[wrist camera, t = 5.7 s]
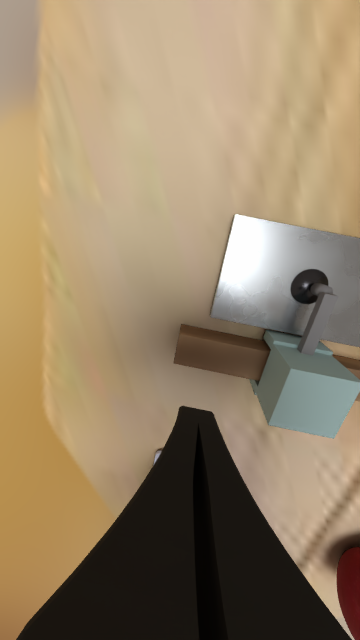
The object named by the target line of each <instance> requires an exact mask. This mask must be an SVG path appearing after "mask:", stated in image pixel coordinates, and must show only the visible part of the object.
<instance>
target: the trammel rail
mask: <svg viewBox="0 0 360 640" xmlns="http://www.w3.org/2000/svg"><path fill="white" fill-rule="evenodd" d="M270 351H271V349H270V347H269V346H268V344H267V343H266V341H262V340H257V339H252V338H247V337H242V336H237V335H232V334H227V333H222V332H217V331H212V330H207V329H202V328H197V327H192V326H187V325H183V324H181V329H180V333H179V338H178V343H177V348H176V353H175V358H174V363H175V364H180V365H184V366H189V367H194V368H199V369H204V370H209V371H214V372H219V373H224V374H228V375H233V376H238V377H243V378H248V379H253V380H258V381H260V379H261V376H262V373H263V371H264V368H265V365H266V362H267V360H268V357H269V354H270ZM332 356H333V357H334V358H335V359H336V360H337V361H339V362H340V363H341V364H342V365H343V366H344V367H346V368H347V369H348V370H349V371H350V372H351V373H352V374H354V375H355V376H356V377H357V378H358V379H359V380H360V360H356V359H351V358H346V357H341V356H336V355H332ZM355 401H360V392H359V394H358V395H357V397H356V399H355Z"/></svg>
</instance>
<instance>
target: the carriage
mask: <svg viewBox="0 0 360 640" xmlns="http://www.w3.org/2000/svg"><path fill="white" fill-rule="evenodd" d="M310 291H311V293H312V294H314V295H316V296H318V298H317V301H316V303H315V306H314V308H313V311H312V313H311V316H310V318H309V321H308V323H307V326H306V328H305V331H304V333H303V336H302V337H301V336H296V335H291V334H286V333H281V332H276V331H271V330H266V332H265V334H264V337H263V338H264V340H265V341H266V343H267V344H268V346H269V347H270V349H271V351H270V354H269V357H268V360H267V362H266V365H265V368H264V371H263V373H262V376H261V379H260V381H258V380H253V379H249V380H250V383H251V385H252V388H253V391H254V394H255V395H257V396H258V399H259V402H260V404H261V407H262V410H263V412H264V415H265V418H266V420H267V423H268V425H270V426H275V427H280V428H285V429H289V430H294V431H299V432H304V433H309V434H313V435H318V436H323V437H328V438H333V439H334V438H335V436H336V434H337V432H338V430H339V428H340V427H341V425H342V423H343V421H344V419H345V417H346V416H347V414H348V412H349V410H350V408H351V406H352V405H353V403H354V401H355V399H356V397H357V395H358V394H359V392H360V380H359V379H358V378H357V377H356V376H355V375H354V374H352V373H351V372H350V371H349V370H348V369H347V368H346V367H344V366H343V365H342V364H341V363H340V362H339V361H337V360H336V359H335V358H334V357H333V356H332V354H333V352H332V351H331V350H330V349H329V348H327V347H326V346H325V345H324V344H323V343H321V342H320V339H321V336H322V334H323V332H324V329H325V327H326V325H327V322H328V320H329V318H330V315H331V313H332V311H333V308H334V306H335V304H336V302H337V299H338V297H339V296H337V295H334V294H333V289H332V288H331V287H329V286H327V285H324V284H321V283H315V284H313V285H312V286H311V289H310Z"/></svg>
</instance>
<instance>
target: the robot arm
mask: <svg viewBox="0 0 360 640" xmlns="http://www.w3.org/2000/svg"><path fill="white" fill-rule="evenodd" d="M16 640H352V639H351V638H350V637H349V636H348V634H347V633H346V632H345V630H344V629H343V628H342V626H341V625H340V624H339V622H338V621H337V620H336V618H335V617H334V616H333V615H332V613H331V612H330V611H329V609H328V608H327V607H326V605H325V604H324V603H323V601H322V600H321V599H320V597H319V596H318V595H317V593H316V592H315V590H314V589H313V588H312V586H311V585H310V583H309V582H308V581H307V579H306V578H305V576H304V575H303V574H302V572H301V571H300V569H299V568H298V567H297V565H296V564H295V562H294V561H293V560H292V558H291V557H290V555H289V554H288V553H287V551H286V550H285V548H284V547H283V545H282V544H281V542H280V541H279V539H278V537H277V536H276V534H275V533H274V531H273V530H272V528H271V527H270V525H269V524H268V522H267V520H266V519H265V517H264V515H263V514H262V512H261V511H260V509H259V507H258V506H257V504H256V502H255V500H254V499H253V497H252V495H251V493H250V492H249V490H248V488H247V486H246V484H245V482H244V481H243V479H242V477H241V475H240V473H239V471H238V469H237V467H236V465H235V463H234V461H233V459H232V457H231V455H230V453H229V451H228V448H227V446H226V444H225V442H224V439H223V437H222V435H221V432H220V430H219V427H218V425H217V422H216V419H215V417H214V414H213V413H212V412H211V411H206V410H201V409H196V408H191V407H186V406H181V407H179V411H178V416H177V420H176V422H175V425H174V427H173V430H172V432H171V434H170V436H169V438H168V440H167V442H166V444H165V446H164V448H163V450H162V451H157V452H156V455H155V459H154V464H153V467H152V469H151V471H150V472H149V474H148V475H147V477H146V478H145V480H144V482H143V483H142V484H141V486H140V487H139V489H138V490H137V492H136V493H135V495H134V496H133V498H132V499H131V500H130V502H129V503H128V504H127V506H126V507H125V508H124V510H123V511H122V513H121V514H120V515H119V517H118V518H117V519H116V521H115V522H114V523H113V525H112V526H111V527H110V528H109V530H108V531H107V532H106V533H105V535H104V536H103V537H102V538H101V539H100V541H99V542H98V543H97V544H96V545H95V547H94V548H93V549H92V550H91V551H90V553H89V554H88V555H87V556H86V557H85V559H84V560H83V561H82V562H81V564H80V565H79V566H78V567H77V568H76V569H75V570H74V572H73V573H72V574H71V575H70V576H69V577H68V578H67V580H66V581H65V582H64V583H63V584H62V585H61V586H60V587H59V588H58V589H57V590H56V592H55V593H54V594H53V595H52V596H51V597H50V598H49V599H48V601H47V602H46V603H45V604H44V605H43V606H42V607H41V608H40V609H39V611H38V612H37V613H36V614H35V615H34V616H33V617H32V618H31V619H30V621H29V622H28V623H27V624H26V626H25V627H24V629H23V630H22V632H21V633H20V635H19V636H18V638H17V639H16Z"/></svg>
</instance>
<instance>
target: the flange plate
mask: <svg viewBox="0 0 360 640" xmlns="http://www.w3.org/2000/svg"><path fill="white" fill-rule="evenodd" d="M315 283H321V284H324V285H327V286H329V287H331V288H332V289H333V294H334V295H337V296H339V297H338V299H337V302H336V304H335V306H334V308H333V311H332V313H331V315H330V318H329V320H328V322H327V325H326V327H325V329H324V332H323V334H322V336H321V339H322V340H327V341H332V342H337V343H342V344H346V345H351V346H356V347H360V238H355V237H350V236H345V235H340V234H335V233H330V232H324V231H319V230H314V229H309V228H304V227H298V226H293V225H288V224H283V223H278V222H273V221H267V220H262V219H257V218H252V217H247V216H241V215H236V214H235V215H234V217H233V221H232V225H231V229H230V233H229V237H228V242H227V246H226V250H225V254H224V258H223V262H222V266H221V271H220V275H219V279H218V283H217V287H216V291H215V295H214V300H213V304H212V308H211V312H210V317H212V318H217V319H222V320H227V321H232V322H237V323H242V324H247V325H252V326H257V327H262V328H267V329H272V330H277V331H282V332H287V333H292V334H297V335H302V336H303V333H304V331H305V328H306V326H307V323H308V321H309V318H310V316H311V313H312V311H313V308H314V306H315V303H316V301H317V298H318V296H316V295H314V294H312V293H311V291H310V289H311V286H312V285H313V284H315Z"/></svg>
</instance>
